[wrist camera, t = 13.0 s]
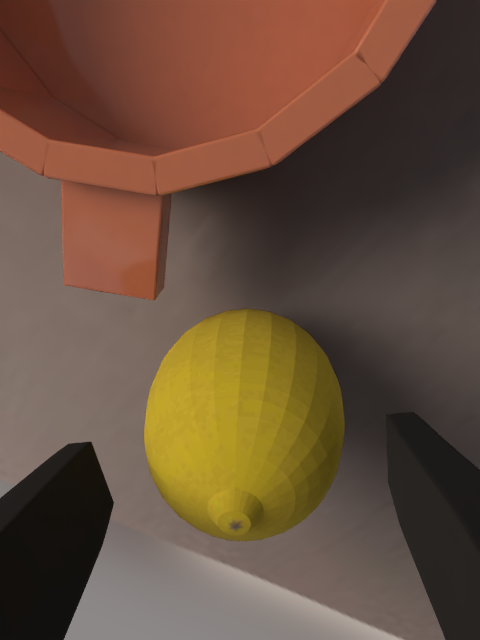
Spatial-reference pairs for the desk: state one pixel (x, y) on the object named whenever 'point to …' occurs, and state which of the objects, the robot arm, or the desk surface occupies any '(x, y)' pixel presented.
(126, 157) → the pot
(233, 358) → the lemon
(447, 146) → the desk surface
